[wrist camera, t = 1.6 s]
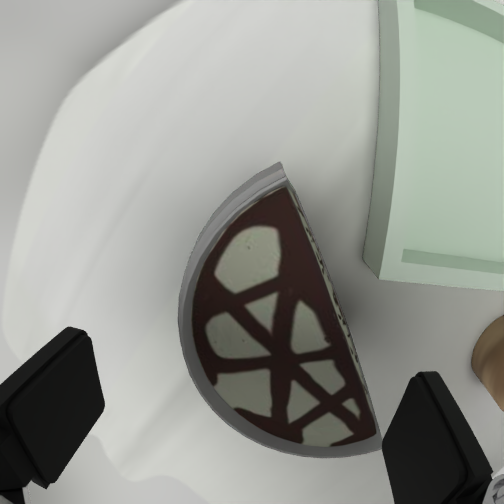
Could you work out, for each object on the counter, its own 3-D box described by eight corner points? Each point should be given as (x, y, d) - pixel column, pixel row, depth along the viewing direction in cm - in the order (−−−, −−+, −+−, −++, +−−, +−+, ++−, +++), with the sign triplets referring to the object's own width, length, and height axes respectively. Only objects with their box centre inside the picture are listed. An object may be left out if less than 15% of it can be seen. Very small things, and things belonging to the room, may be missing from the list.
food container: (191, 208, 19) (101, 244, 10) (284, 166, 18) (278, 158, 8) (270, 372, 21) (253, 486, 12) (354, 343, 20) (386, 454, 11)
